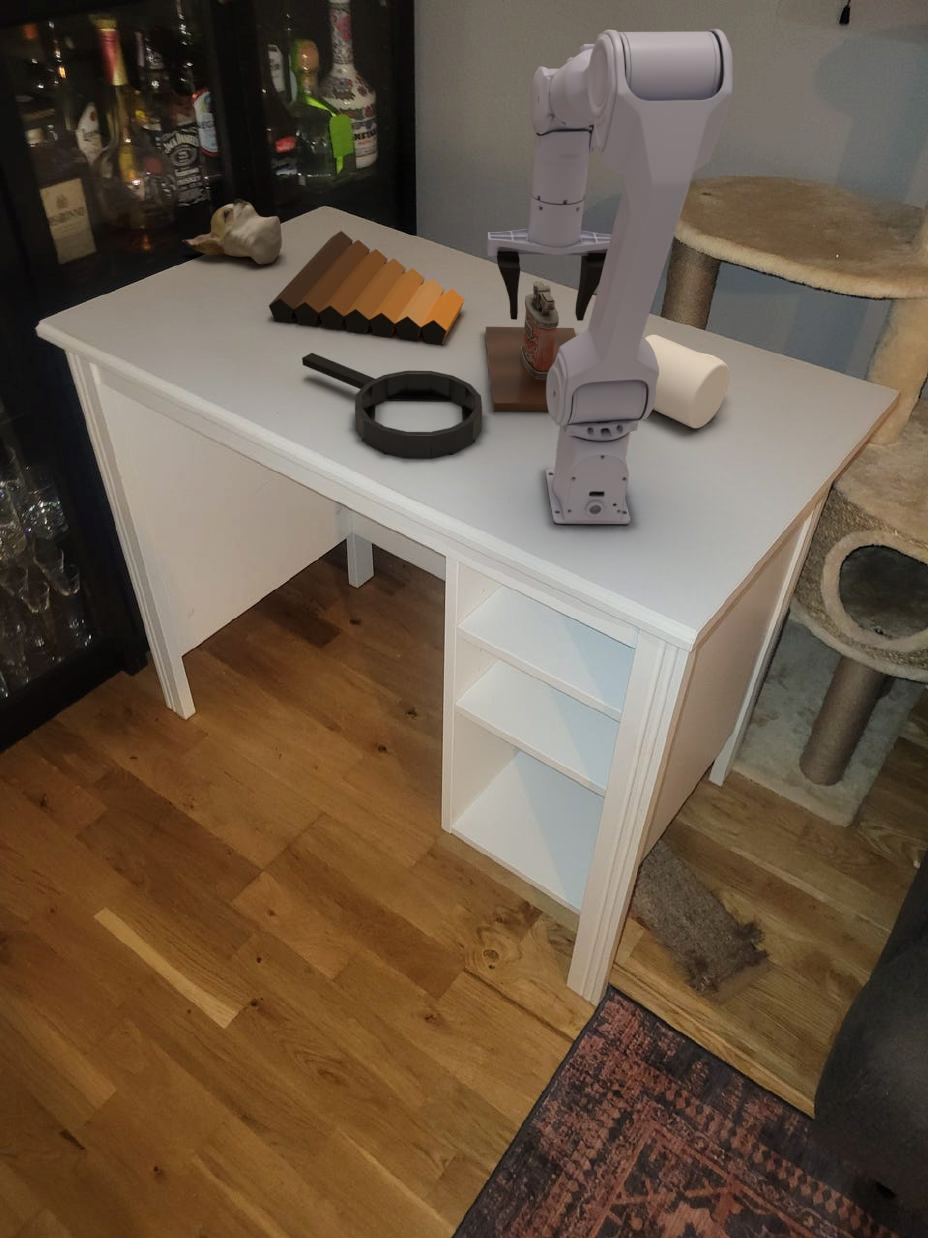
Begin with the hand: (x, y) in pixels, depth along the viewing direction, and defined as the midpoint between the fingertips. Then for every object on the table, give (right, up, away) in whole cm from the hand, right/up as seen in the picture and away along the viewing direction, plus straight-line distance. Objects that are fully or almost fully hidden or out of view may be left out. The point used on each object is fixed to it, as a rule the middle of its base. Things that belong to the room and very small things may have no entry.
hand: (546, 316), depth 111 cm
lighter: (0, -3, +11) cm, 11 cm away
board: (0, -3, +12) cm, 12 cm away
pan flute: (-21, +11, +27) cm, 36 cm away
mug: (+17, -9, +7) cm, 20 cm away
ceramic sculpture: (-44, +20, +35) cm, 60 cm away
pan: (-19, -11, +3) cm, 22 cm away
